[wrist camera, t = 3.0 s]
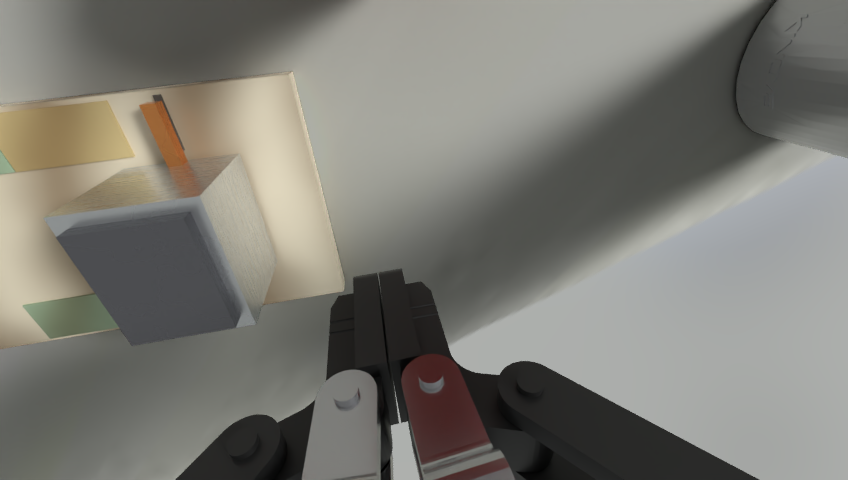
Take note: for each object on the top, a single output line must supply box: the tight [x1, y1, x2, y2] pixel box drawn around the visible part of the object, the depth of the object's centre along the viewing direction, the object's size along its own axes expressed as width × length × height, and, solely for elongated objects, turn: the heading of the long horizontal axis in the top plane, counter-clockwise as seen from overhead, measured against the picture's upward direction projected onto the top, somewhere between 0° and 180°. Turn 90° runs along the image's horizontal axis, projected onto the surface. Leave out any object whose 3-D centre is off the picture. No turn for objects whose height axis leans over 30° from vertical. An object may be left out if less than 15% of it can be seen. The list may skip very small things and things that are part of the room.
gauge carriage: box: [43, 101, 278, 346], centre depth 16 cm, size 5×11×6 cm, turn 6°
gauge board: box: [0, 71, 345, 349], centre depth 16 cm, size 22×12×7 cm, turn 96°
